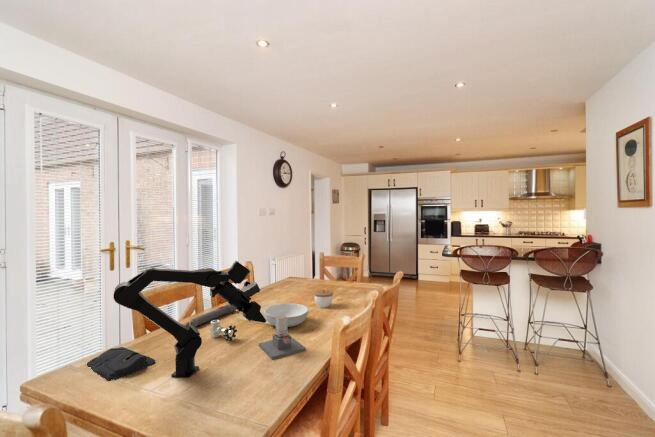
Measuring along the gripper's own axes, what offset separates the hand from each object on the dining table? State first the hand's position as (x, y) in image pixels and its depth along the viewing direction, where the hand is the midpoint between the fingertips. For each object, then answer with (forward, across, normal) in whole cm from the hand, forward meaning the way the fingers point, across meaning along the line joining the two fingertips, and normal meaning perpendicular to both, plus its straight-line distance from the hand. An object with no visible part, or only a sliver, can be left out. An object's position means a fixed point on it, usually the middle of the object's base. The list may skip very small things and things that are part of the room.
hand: (261, 318), depth 120 cm
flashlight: (+5, +50, +14) cm, 53 cm away
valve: (+3, +23, +16) cm, 29 cm away
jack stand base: (+15, 0, +4) cm, 16 cm away
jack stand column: (+14, 0, +3) cm, 15 cm away
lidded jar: (+46, +38, -26) cm, 65 cm away
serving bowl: (+25, +24, -5) cm, 35 cm away
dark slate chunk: (-23, +19, +42) cm, 51 cm away
